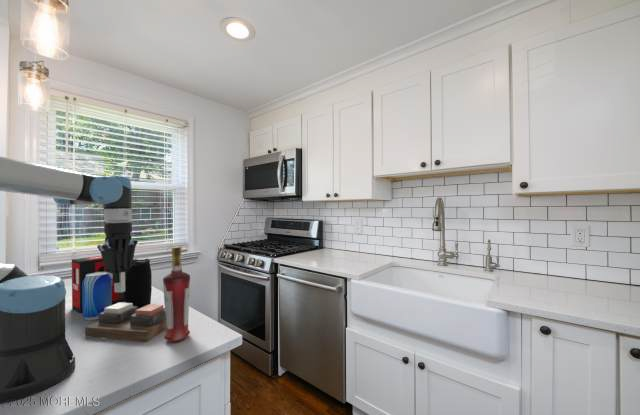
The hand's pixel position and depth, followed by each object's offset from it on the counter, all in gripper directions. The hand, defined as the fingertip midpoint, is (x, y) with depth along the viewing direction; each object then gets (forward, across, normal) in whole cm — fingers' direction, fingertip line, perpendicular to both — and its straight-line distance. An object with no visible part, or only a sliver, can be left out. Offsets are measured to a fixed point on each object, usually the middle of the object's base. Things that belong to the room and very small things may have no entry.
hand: (119, 291), depth 90 cm
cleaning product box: (+13, +18, +28) cm, 35 cm away
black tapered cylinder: (+13, +16, +8) cm, 22 cm away
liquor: (+12, -4, -25) cm, 28 cm away
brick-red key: (+7, 0, -12) cm, 14 cm away
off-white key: (+7, 0, 0) cm, 7 cm away
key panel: (+12, 0, -6) cm, 14 cm away
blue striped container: (+12, +6, +17) cm, 22 cm away
